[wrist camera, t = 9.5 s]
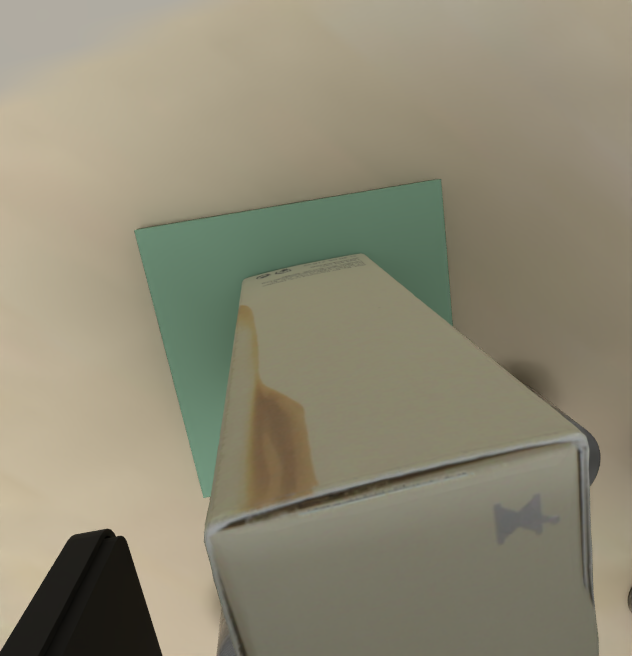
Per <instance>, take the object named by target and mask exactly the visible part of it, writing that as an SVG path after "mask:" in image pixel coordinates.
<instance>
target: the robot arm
mask: <svg viewBox="0 0 632 656" xmlns="http://www.w3.org/2000/svg"><path fill="white" fill-rule="evenodd" d="M0 656H162V653H161V649H160V646H159V643H158V640H157V637H156V633H155V630H154V627H153V624H152V621H151V617H150V614H149V611H148V608H147V605H146V601H145V598H144V595H143V592H142V589H141V585H140V582H139V579H138V576H137V573H136V569H135V566H134V563H133V560H132V556H131V553H130V550H129V547H128V544H127V541H126V539H125V538H124V537H123V536H117V537H116V536H115V534H114V532H113V531H112V530H110V529H103V530H98V531H92V532H86V533H81V534H75V535H73V536H71V537H70V539H69V540H68V541H67V543H66V544H65V546H64V548H63V549H62V551H61V553H60V554H59V556H58V558H57V559H56V561H55V562H54V564H53V566H52V567H51V569H50V571H49V572H48V574H47V576H46V577H45V579H44V581H43V582H42V584H41V585H40V587H39V589H38V590H37V592H36V594H35V595H34V597H33V599H32V600H31V602H30V604H29V605H28V607H27V609H26V610H25V612H24V613H23V615H22V617H21V618H20V620H19V622H18V623H17V625H16V627H15V628H14V630H13V632H12V633H11V635H10V637H9V638H8V640H7V641H6V643H5V645H4V646H3V648H2V650H1V651H0Z"/></svg>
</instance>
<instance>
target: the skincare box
mask: <svg viewBox="0 0 632 656" xmlns="http://www.w3.org/2000/svg"><path fill="white" fill-rule="evenodd" d="M204 543H205V546H206V550H207V554H208V557H209V561H210V565H211V569H212V574H213V578H214V582H215V585H216V589H217V592H218V596H219V599H220V603H221V607H222V611H223V615H224V618H225V621H226V624H227V627H228V631H229V635H230V638H231V641H232V644H233V647H234V650H235V654H236V656H599V645H598V632H597V623H596V614H595V604H594V594H593V564H592V540H591V519H590V482H589V445H588V441H587V437H586V436H585V435H584V434H583V433H582V432H581V431H580V430H579V429H578V428H577V427H576V426H575V425H573V424H572V423H571V422H570V421H568V420H567V419H566V418H564V417H563V416H562V415H561V414H560V413H558V412H557V411H556V410H555V409H554V408H552V407H551V406H550V405H549V404H547V403H546V402H545V401H543V400H542V399H541V398H540V397H538V396H537V395H536V394H535V393H533V392H532V391H531V390H530V389H528V388H527V387H526V386H525V385H523V384H522V383H521V382H520V381H519V380H517V379H516V378H515V377H514V376H513V375H511V374H510V373H509V372H508V371H507V370H505V369H504V368H503V367H502V366H500V365H499V364H498V363H497V362H496V361H494V360H493V359H492V358H491V357H489V356H488V355H487V354H486V353H485V352H484V351H482V350H481V349H480V348H478V347H477V346H476V345H475V344H474V343H473V342H471V341H470V340H469V339H468V338H467V337H465V336H464V335H463V334H461V333H460V332H459V331H458V330H457V329H455V328H454V327H453V326H451V325H450V324H449V323H448V322H447V321H446V320H444V319H443V318H442V317H440V316H439V315H438V314H437V313H436V312H434V311H433V310H432V309H431V308H429V307H428V306H427V305H426V304H424V303H423V302H422V301H421V300H420V299H418V298H417V297H415V296H414V295H413V294H412V293H411V292H410V291H409V290H407V289H406V288H405V287H404V286H403V285H401V284H400V283H399V282H398V281H396V280H395V279H394V278H393V277H391V276H390V275H389V274H388V273H387V272H385V271H384V270H383V269H382V268H380V267H379V266H378V265H377V264H376V263H374V262H373V261H372V260H371V259H369V258H368V257H367V256H366V255H365V254H362V253H360V254H353V255H348V256H342V257H337V258H332V259H326V260H321V261H316V262H311V263H306V264H301V265H297V266H292V267H288V268H283V269H279V270H275V271H271V272H267V273H263V274H260V275H256V276H252V277H248V278H246V279H244V280H243V282H242V287H241V294H240V301H239V310H238V316H237V323H236V329H235V336H234V343H233V350H232V357H231V364H230V371H229V377H228V384H227V391H226V398H225V405H224V412H223V419H222V425H221V431H220V439H219V445H218V450H217V458H216V465H215V471H214V478H213V484H212V490H211V497H210V503H209V508H208V512H207V517H206V522H205V531H204Z"/></svg>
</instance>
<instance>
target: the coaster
mask: <svg viewBox="0 0 632 656" xmlns="http://www.w3.org/2000/svg"><path fill="white" fill-rule="evenodd" d="M134 232H135V235H136V239H137V243H138V247H139V251H140V255H141V259H142V262H143V266H144V270H145V274H146V278H147V282H148V285H149V289H150V293H151V297H152V301H153V305H154V309H155V312H156V316H157V320H158V324H159V328H160V332H161V335H162V339H163V343H164V347H165V351H166V355H167V359H168V362H169V366H170V370H171V374H172V378H173V382H174V386H175V389H176V393H177V397H178V401H179V405H180V409H181V412H182V416H183V420H184V424H185V428H186V432H187V436H188V439H189V443H190V447H191V451H192V455H193V459H194V463H195V466H196V470H197V474H198V478H199V482H200V486H201V489H202V493H203V497H204V498H206V497H211V490H212V484H213V478H214V471H215V465H216V458H217V450H218V445H219V439H220V431H221V425H222V419H223V412H224V405H225V398H226V391H227V384H228V377H229V371H230V364H231V357H232V350H233V343H234V336H235V329H236V323H237V316H238V310H239V301H240V294H241V287H242V282H243V280H244V279H246V278H248V277H252V276H256V275H260V274H263V273H267V272H271V271H275V270H279V269H283V268H288V267H292V266H297V265H301V264H306V263H311V262H316V261H321V260H326V259H332V258H337V257H342V256H348V255H353V254H360V253H362V254H365V255H366V256H367V257H368V258H369V259H371V260H372V261H373V262H374V263H376V264H377V265H378V266H379V267H380V268H382V269H383V270H384V271H385V272H387V273H388V274H389V275H390V276H391V277H393V278H394V279H395V280H396V281H398V282H399V283H400V284H401V285H403V286H404V287H405V288H406V289H407V290H409V291H410V292H411V293H412V294H413V295H414V296H415V297H417V298H418V299H420V300H421V301H422V302H423V303H424V304H426V305H427V306H428V307H429V308H431V309H432V310H433V311H434V312H436V313H437V314H438V315H439V316H440V317H442V318H443V319H444V320H446V321H447V322H448V323H449V324H450V325H451V326H453V323H452V311H451V298H450V286H449V273H448V261H447V248H446V236H445V223H444V211H443V198H442V186H441V179H436V180H429V181H423V182H417V183H411V184H405V185H399V186H393V187H387V188H381V189H375V190H369V191H363V192H357V193H351V194H345V195H339V196H333V197H327V198H321V199H315V200H309V201H303V202H297V203H291V204H285V205H279V206H273V207H267V208H261V209H255V210H249V211H243V212H237V213H231V214H225V215H219V216H213V217H207V218H201V219H195V220H189V221H183V222H177V223H171V224H165V225H159V226H153V227H147V228H141V229H137V230H134Z"/></svg>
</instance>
